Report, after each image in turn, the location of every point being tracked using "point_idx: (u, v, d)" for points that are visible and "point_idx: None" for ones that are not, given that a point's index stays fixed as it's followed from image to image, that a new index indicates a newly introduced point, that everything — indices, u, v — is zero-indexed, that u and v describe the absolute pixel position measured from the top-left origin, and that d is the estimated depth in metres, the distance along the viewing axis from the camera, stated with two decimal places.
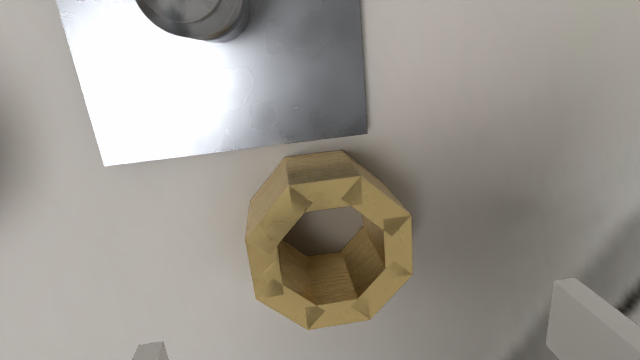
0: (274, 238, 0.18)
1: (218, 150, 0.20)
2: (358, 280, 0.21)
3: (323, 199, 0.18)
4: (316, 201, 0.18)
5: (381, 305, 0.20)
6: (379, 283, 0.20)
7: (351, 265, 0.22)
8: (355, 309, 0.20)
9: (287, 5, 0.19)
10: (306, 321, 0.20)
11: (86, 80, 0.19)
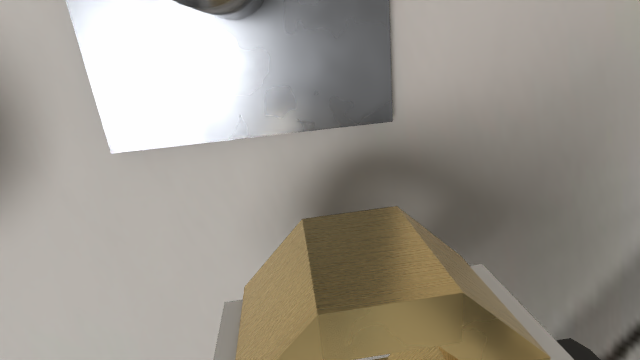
0: None
1: (231, 138, 0.19)
2: None
3: (385, 337, 0.09)
4: (371, 341, 0.09)
5: None
6: None
7: None
8: None
9: None
10: None
11: (91, 60, 0.17)
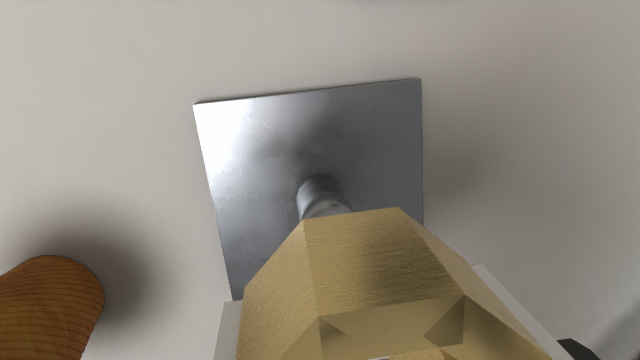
0: None
1: None
2: None
3: (386, 338, 0.09)
4: (372, 343, 0.09)
5: None
6: None
7: None
8: None
9: (370, 194, 0.26)
10: None
11: (227, 247, 0.26)
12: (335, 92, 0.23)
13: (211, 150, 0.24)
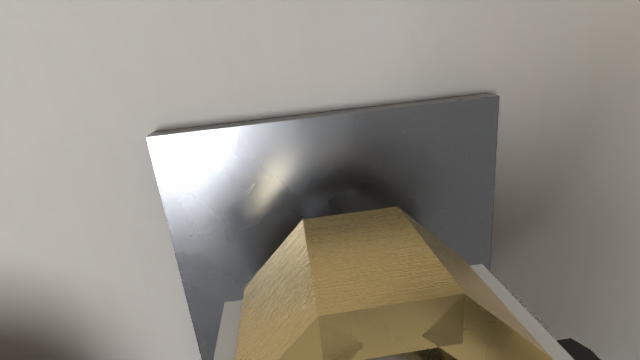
0: None
1: None
2: None
3: (386, 338, 0.09)
4: (372, 342, 0.09)
5: None
6: None
7: None
8: None
9: None
10: None
11: (204, 341, 0.18)
12: (369, 116, 0.15)
13: (177, 204, 0.15)
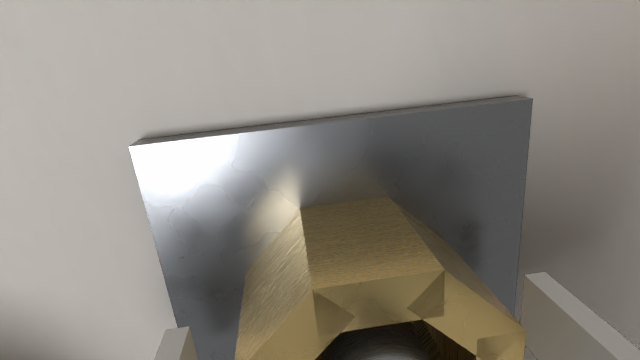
0: None
1: None
2: None
3: (374, 310, 0.10)
4: (362, 314, 0.10)
5: None
6: None
7: None
8: None
9: None
10: None
11: None
12: (384, 122, 0.13)
13: (166, 222, 0.14)
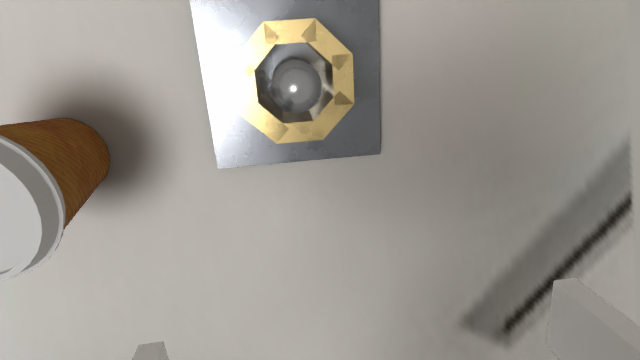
0: (252, 64, 0.25)
1: (287, 161, 0.33)
2: (316, 113, 0.28)
3: (288, 35, 0.25)
4: (283, 36, 0.25)
5: (331, 128, 0.27)
6: (329, 109, 0.27)
7: (313, 110, 0.29)
8: (312, 129, 0.27)
9: None
10: (275, 136, 0.27)
11: (213, 117, 0.31)
12: None
13: (201, 27, 0.29)
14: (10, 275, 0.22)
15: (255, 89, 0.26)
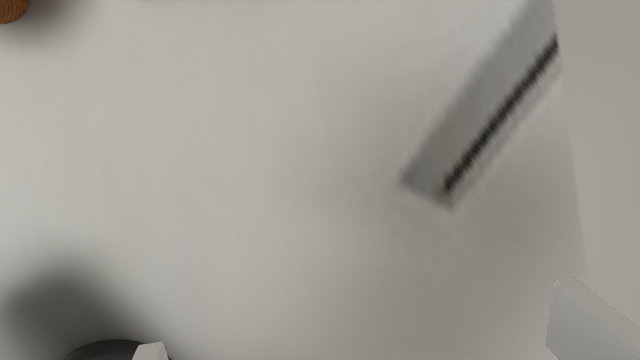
0: None
1: None
2: None
3: None
4: None
5: None
6: None
7: None
8: None
9: None
10: None
11: None
12: None
13: None
14: None
15: None
